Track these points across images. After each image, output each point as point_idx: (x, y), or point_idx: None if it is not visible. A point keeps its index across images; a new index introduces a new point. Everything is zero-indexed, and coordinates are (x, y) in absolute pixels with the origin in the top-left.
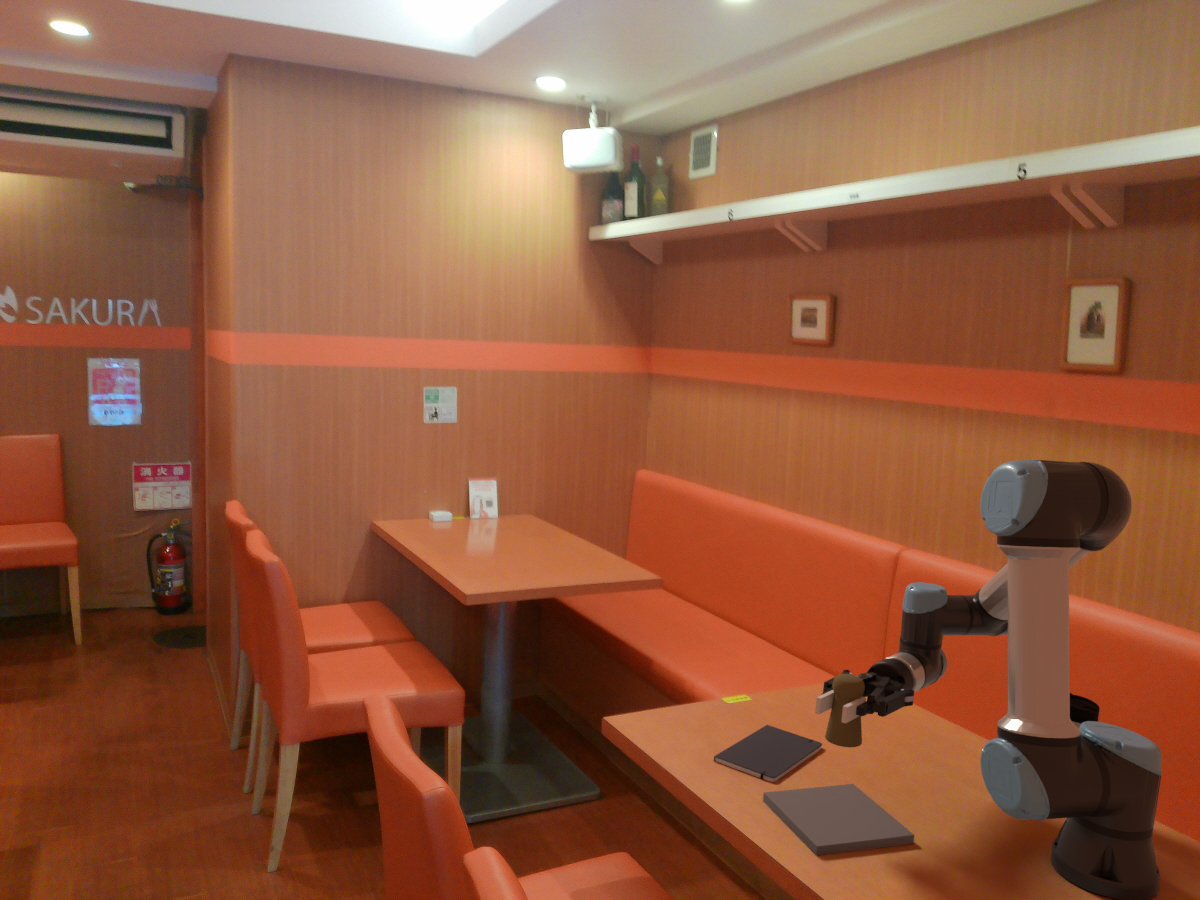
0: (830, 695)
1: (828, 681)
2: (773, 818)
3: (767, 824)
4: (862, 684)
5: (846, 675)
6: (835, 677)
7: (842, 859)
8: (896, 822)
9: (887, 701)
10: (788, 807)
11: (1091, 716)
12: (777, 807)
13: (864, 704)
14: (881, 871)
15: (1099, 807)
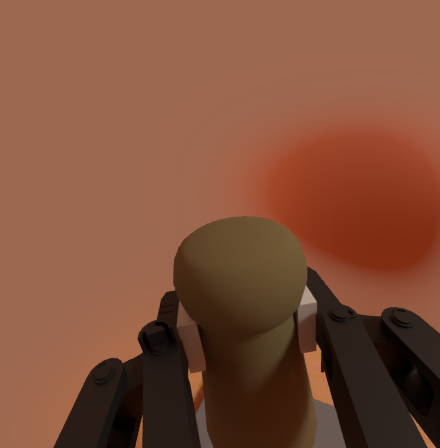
0: None
1: (434, 340)
2: (324, 400)
3: (310, 378)
4: (175, 260)
5: (245, 226)
6: (276, 222)
7: (194, 396)
8: None
9: (80, 393)
10: (325, 421)
11: None
12: (334, 407)
13: (172, 317)
14: (142, 420)
15: None
